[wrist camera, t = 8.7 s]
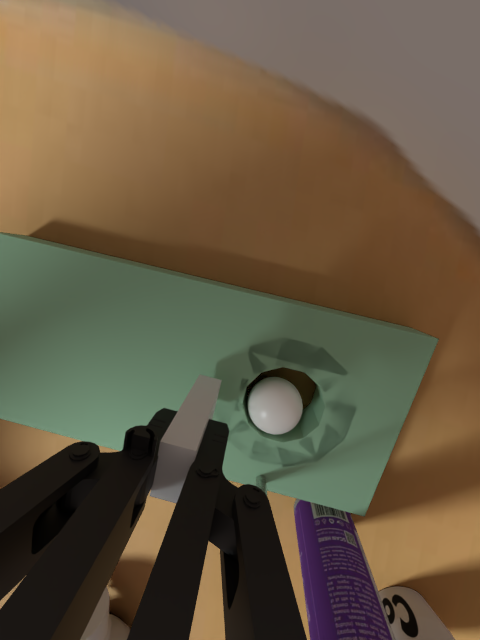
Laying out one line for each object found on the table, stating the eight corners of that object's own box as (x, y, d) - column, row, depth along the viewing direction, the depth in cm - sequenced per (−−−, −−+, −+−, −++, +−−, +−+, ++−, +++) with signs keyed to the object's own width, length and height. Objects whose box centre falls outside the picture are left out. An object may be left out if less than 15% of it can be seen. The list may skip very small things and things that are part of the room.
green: (20, 395, 23) (-16, 414, 20) (27, 235, 20) (-15, 230, 17) (350, 483, 22) (364, 516, 19) (411, 327, 19) (438, 338, 16)
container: (282, 508, 23) (318, 941, 8) (320, 476, 22) (438, 905, 7) (320, 539, 23) (421, 1010, 8) (359, 509, 22) (549, 984, 7)
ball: (242, 432, 19) (295, 448, 18) (238, 414, 16) (301, 432, 15) (255, 385, 22) (302, 397, 21) (254, 361, 19) (309, 374, 18)
